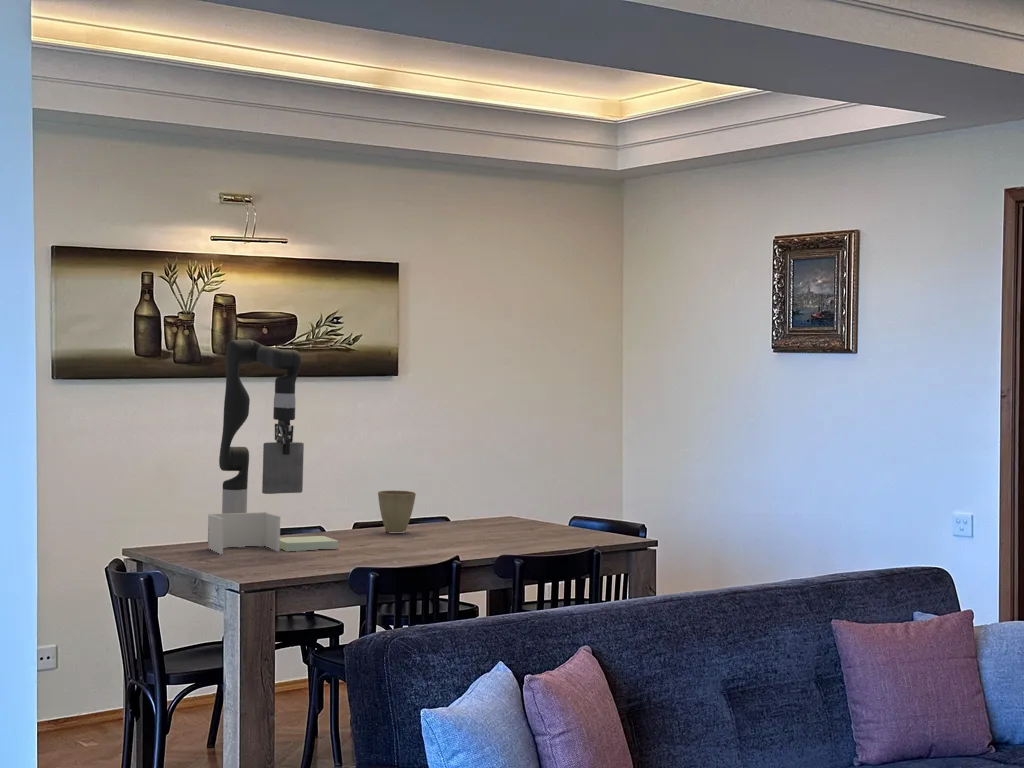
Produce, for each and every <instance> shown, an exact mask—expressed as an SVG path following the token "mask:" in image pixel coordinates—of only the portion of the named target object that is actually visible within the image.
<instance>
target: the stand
mask: <svg viewBox="0 0 1024 768" xmlns="http://www.w3.org/2000/svg"><path fill="white" fill-rule="evenodd" d="M330 548H338V549H339V540H337V539H334V538H332V537H331V538H330V537H328V536H325V535H316V536H314V535H311V536H310V535H309V536H294V537H293V536H290V537H289V536H288V537H280V550H281V549H283V550H285V551H284V552H286V551H296V552H300V551H299V550H311V549H330ZM283 550H282V551H283Z"/></svg>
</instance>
